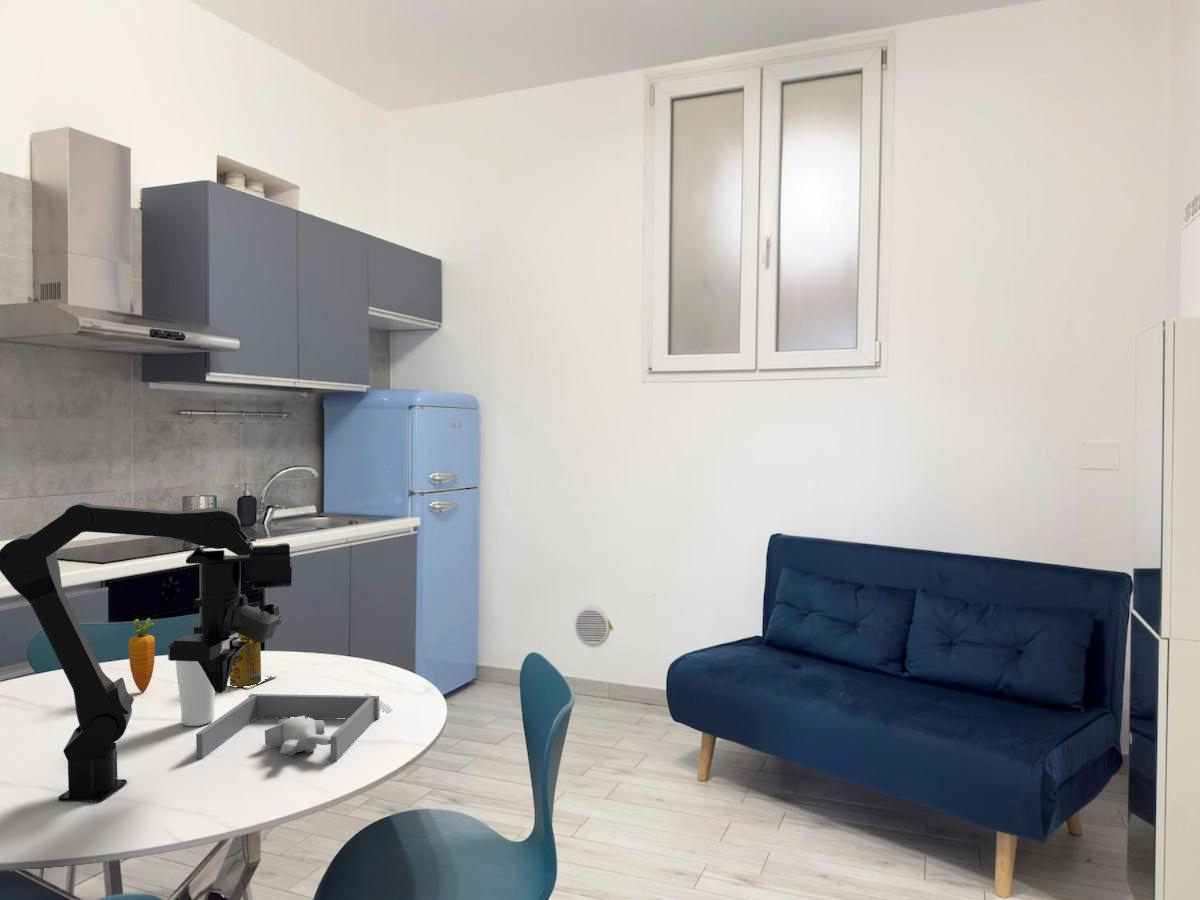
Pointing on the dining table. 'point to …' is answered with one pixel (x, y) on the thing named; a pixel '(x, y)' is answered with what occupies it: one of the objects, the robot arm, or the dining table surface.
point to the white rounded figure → (297, 735)
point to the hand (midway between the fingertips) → (220, 692)
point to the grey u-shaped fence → (281, 705)
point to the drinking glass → (194, 694)
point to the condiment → (247, 665)
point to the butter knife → (382, 705)
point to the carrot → (142, 655)
